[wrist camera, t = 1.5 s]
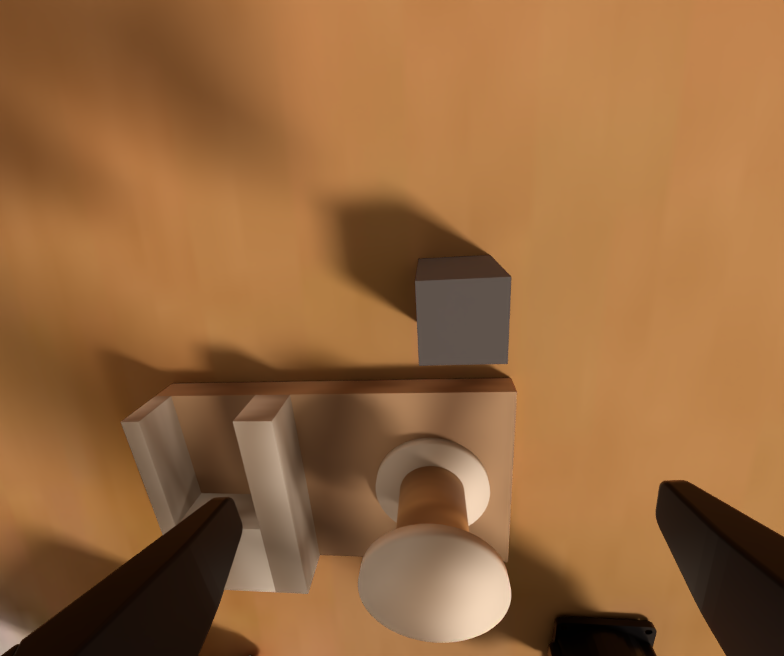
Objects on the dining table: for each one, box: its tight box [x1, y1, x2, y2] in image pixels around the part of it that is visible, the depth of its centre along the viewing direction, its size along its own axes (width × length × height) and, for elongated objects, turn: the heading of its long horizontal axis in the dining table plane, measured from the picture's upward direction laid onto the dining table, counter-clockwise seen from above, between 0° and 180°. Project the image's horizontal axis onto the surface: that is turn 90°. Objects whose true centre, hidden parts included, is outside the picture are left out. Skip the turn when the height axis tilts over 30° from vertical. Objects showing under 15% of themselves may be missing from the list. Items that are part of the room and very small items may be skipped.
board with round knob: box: [121, 378, 517, 643], centre depth 20 cm, size 20×12×8 cm, turn 94°
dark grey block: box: [415, 255, 511, 366], centre depth 17 cm, size 4×4×5 cm
